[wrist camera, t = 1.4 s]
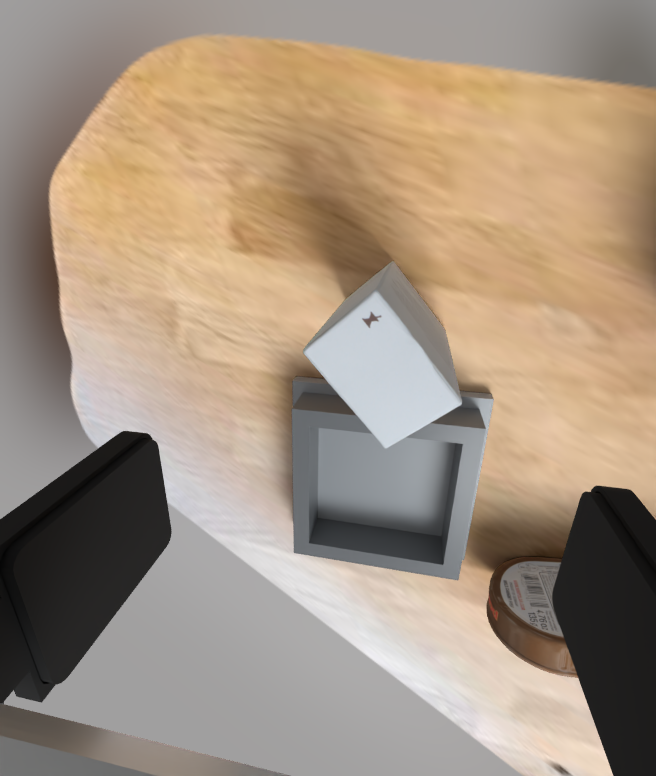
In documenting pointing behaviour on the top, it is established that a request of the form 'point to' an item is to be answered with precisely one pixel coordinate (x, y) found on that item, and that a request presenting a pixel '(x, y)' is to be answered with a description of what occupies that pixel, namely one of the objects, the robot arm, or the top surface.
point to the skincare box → (387, 357)
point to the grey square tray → (384, 484)
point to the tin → (529, 613)
